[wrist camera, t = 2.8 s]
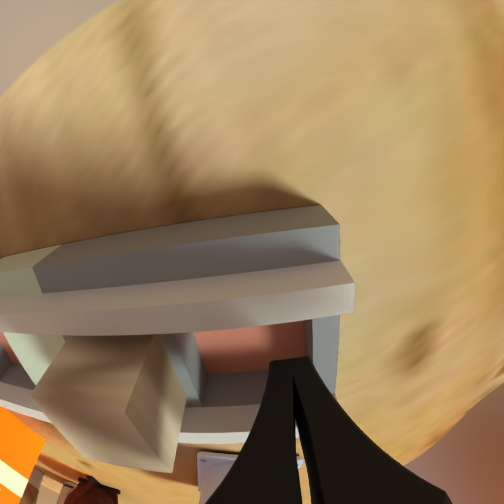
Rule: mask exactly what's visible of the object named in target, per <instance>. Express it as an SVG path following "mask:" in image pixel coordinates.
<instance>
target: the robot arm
mask: <svg viewBox="0 0 504 504" xmlns="http://www.w3.org/2000/svg"><path fill="white" fill-rule="evenodd" d="M295 420H296V424H297V429H298V433H299V437H300V442H301V446H302V450H303V454H304V459H305V463H306V467H307V472H308V478H309V486H310V495H311V504H452V502H451V500H450V498H449V497H448V495H447V493H446V492H445V491H444V490H442V489H440V488H438V487H436V486H434V485H432V484H431V483H429V482H427V481H425V480H424V479H422V478H420V477H419V476H417V475H416V474H414V473H412V472H411V471H409V470H408V469H406V468H405V467H404V466H402V465H401V464H400V463H398V462H397V461H396V460H394V459H393V458H392V457H391V456H389V455H388V454H387V453H385V452H384V451H383V450H382V449H381V448H380V447H378V446H377V445H376V444H375V443H374V442H373V441H372V440H371V439H370V438H369V437H368V436H367V435H366V434H365V433H364V432H363V431H362V430H361V429H360V428H359V427H358V426H357V425H356V424H355V423H354V422H353V420H352V419H351V418H350V417H349V416H348V415H347V413H346V412H345V411H344V410H343V408H342V407H341V406H340V405H339V403H338V402H337V401H336V399H335V398H334V396H333V395H332V394H331V392H330V391H329V390H328V388H327V387H326V385H325V383H324V382H323V380H322V379H321V377H320V375H319V374H318V372H317V370H316V368H315V366H314V364H313V362H312V360H311V358H310V357H308V356H304V357H297V358H290V359H282V360H273V361H271V362H270V363H269V371H268V378H267V383H266V387H265V391H264V395H263V398H262V401H261V404H260V408H259V411H258V413H257V416H256V418H255V421H254V423H253V426H252V428H251V431H250V433H249V435H248V437H247V439H246V442H245V444H244V445H243V447H242V449H241V451H240V453H239V455H234V454H222V453H213V452H204V451H201V452H198V453H197V470H198V490H199V491H200V501H199V504H302V496H301V488H300V480H299V472H298V469H299V468H300V466H301V465H302V463H303V457H301V456H296V426H295Z"/></svg>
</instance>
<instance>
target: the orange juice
mask: <svg viewBox="0 0 504 504" xmlns="http://www.w3.org/2000/svg"><path fill="white" fill-rule="evenodd" d="M45 441H46V440H45V439H43V438H42V437H40V436H39V435H38V434H36V433H35V432H34V431H32V430H31V429H30V428H28V427H27V426H26V425H25V424H23V423H22V422H21V421H20V420H18V419H17V418H16V417H15V416H14V415H12V414H11V413H10V412H9V411H8V410H7V409H5V408H4V407H1V406H0V504H19V502H20V499H21V498H22V495H23V493H24V490H25V487H26V485H27V483H28V479H29V477H30V474H31V472H32V470H33V467H34V465H35V463H36V461H37V458H38V456H39V454H40V452H41V450H42V447H43V445H44V443H45Z"/></svg>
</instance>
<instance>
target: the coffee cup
mask: <svg viewBox="0 0 504 504" xmlns="http://www.w3.org/2000/svg"><path fill="white" fill-rule="evenodd" d="M42 478H43V473H42V472H41V471H40V470H38V469H37V468H36V467H35V466H34V467H33V470H32V472H31V474H30V477H29V479H28V483H27V485H26V487H25V490H24V493H23V495H22V498H21V499H20V502H19V504H36V502H37V497H38V493H39V488H40V485H41V482H42Z"/></svg>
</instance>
